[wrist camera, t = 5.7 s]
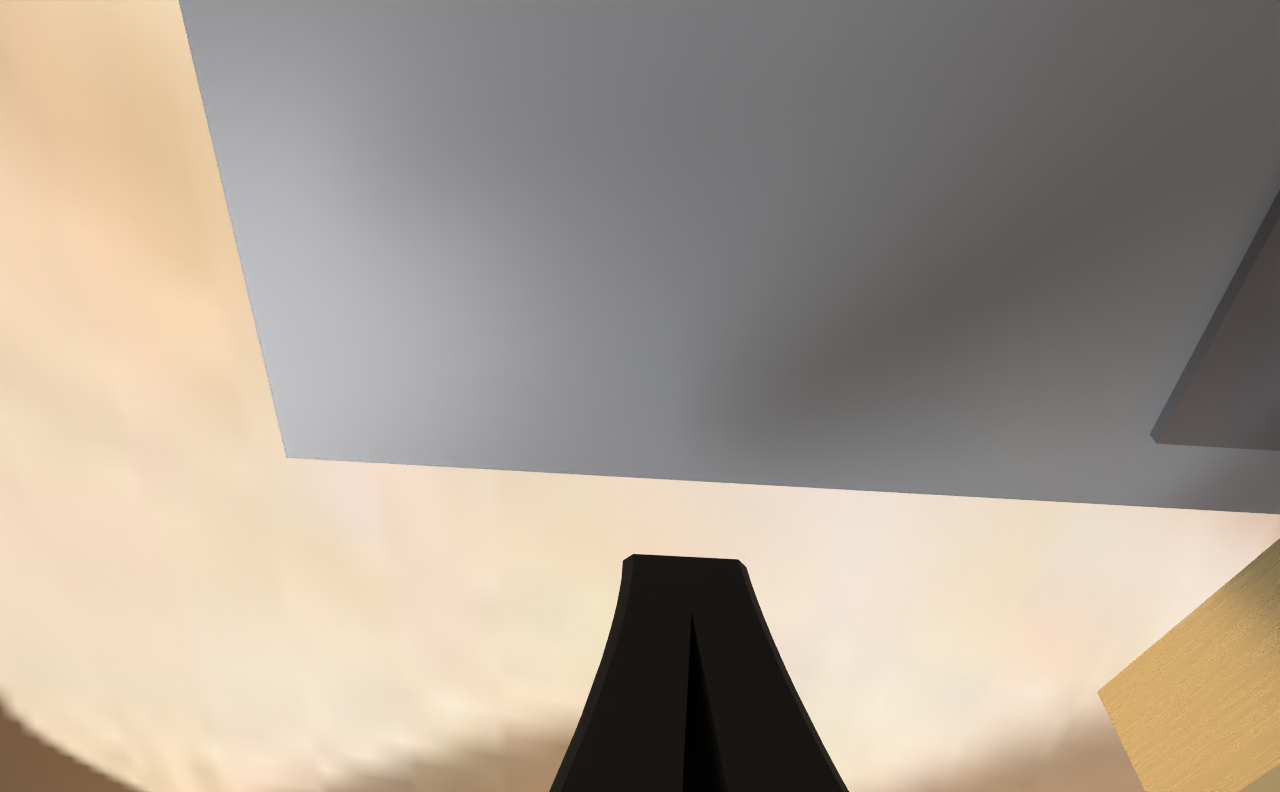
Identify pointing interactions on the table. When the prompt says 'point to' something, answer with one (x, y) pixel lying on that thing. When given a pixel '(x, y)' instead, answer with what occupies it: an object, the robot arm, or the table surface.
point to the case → (766, 238)
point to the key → (1209, 693)
